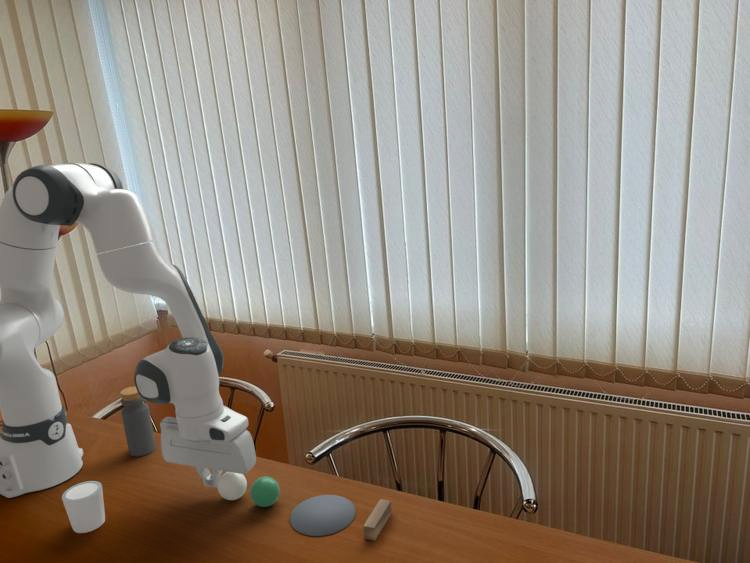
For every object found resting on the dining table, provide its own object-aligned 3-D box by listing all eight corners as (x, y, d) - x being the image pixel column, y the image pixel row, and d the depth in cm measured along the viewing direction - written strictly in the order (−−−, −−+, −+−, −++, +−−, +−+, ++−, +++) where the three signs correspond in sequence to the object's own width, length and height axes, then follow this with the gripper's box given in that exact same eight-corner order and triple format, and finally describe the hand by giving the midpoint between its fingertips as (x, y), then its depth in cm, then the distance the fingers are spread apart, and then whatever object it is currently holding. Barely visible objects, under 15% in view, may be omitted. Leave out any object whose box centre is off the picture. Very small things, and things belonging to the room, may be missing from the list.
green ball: (246, 510, 115) (242, 484, 113) (262, 494, 120) (258, 469, 118) (271, 515, 113) (267, 489, 111) (286, 498, 117) (283, 473, 116)
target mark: (277, 529, 108) (277, 528, 108) (309, 491, 119) (309, 490, 119) (338, 541, 104) (338, 540, 104) (365, 501, 115) (365, 500, 114)
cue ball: (217, 474, 115) (240, 490, 114) (233, 460, 120) (255, 475, 119) (208, 495, 117) (231, 511, 116) (224, 480, 122) (246, 495, 121)
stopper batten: (364, 538, 104) (363, 525, 103) (381, 511, 111) (380, 499, 111) (375, 540, 103) (374, 528, 103) (391, 512, 110) (390, 500, 110)
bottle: (145, 457, 137) (133, 396, 133) (123, 455, 139) (111, 395, 135) (161, 444, 142) (150, 385, 139) (140, 442, 144) (129, 384, 141)
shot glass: (93, 536, 111) (86, 502, 109) (60, 534, 112) (53, 500, 110) (116, 513, 117) (109, 481, 115) (85, 511, 119) (78, 479, 117)
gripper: (148, 423, 118) (160, 486, 121) (235, 434, 110) (246, 501, 113) (170, 408, 124) (181, 469, 127) (255, 418, 116) (264, 483, 119)
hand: (212, 485), depth 120 cm, fingers closed
